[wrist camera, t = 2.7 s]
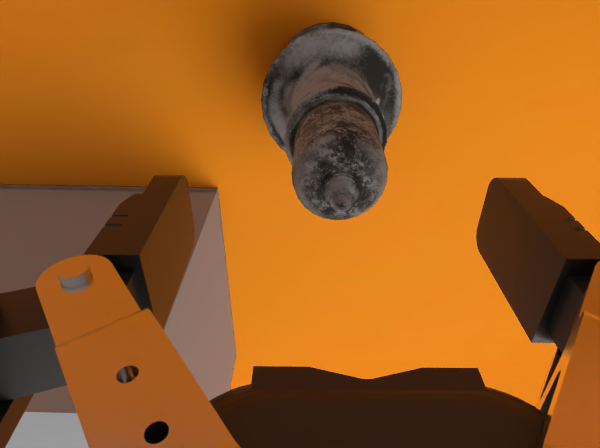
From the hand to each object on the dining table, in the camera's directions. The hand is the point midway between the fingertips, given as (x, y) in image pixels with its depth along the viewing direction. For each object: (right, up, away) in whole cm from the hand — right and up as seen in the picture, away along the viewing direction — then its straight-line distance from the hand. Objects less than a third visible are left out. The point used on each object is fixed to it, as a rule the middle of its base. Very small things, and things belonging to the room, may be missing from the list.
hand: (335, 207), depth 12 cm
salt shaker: (0, +7, +10) cm, 12 cm away
